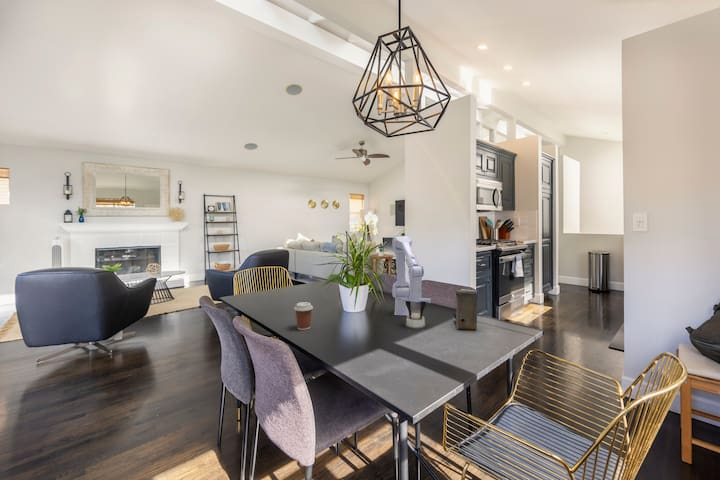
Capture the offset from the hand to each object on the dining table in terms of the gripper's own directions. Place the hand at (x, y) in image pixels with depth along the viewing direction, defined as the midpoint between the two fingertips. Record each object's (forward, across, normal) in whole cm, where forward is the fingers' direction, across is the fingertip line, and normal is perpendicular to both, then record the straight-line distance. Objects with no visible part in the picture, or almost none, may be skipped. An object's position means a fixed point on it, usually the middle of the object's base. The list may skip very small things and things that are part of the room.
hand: (415, 316), depth 166 cm
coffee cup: (+5, -55, -10) cm, 56 cm away
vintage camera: (+5, +24, +3) cm, 25 cm away
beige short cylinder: (+2, 0, 0) cm, 2 cm away
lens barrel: (+5, 0, 0) cm, 5 cm away
